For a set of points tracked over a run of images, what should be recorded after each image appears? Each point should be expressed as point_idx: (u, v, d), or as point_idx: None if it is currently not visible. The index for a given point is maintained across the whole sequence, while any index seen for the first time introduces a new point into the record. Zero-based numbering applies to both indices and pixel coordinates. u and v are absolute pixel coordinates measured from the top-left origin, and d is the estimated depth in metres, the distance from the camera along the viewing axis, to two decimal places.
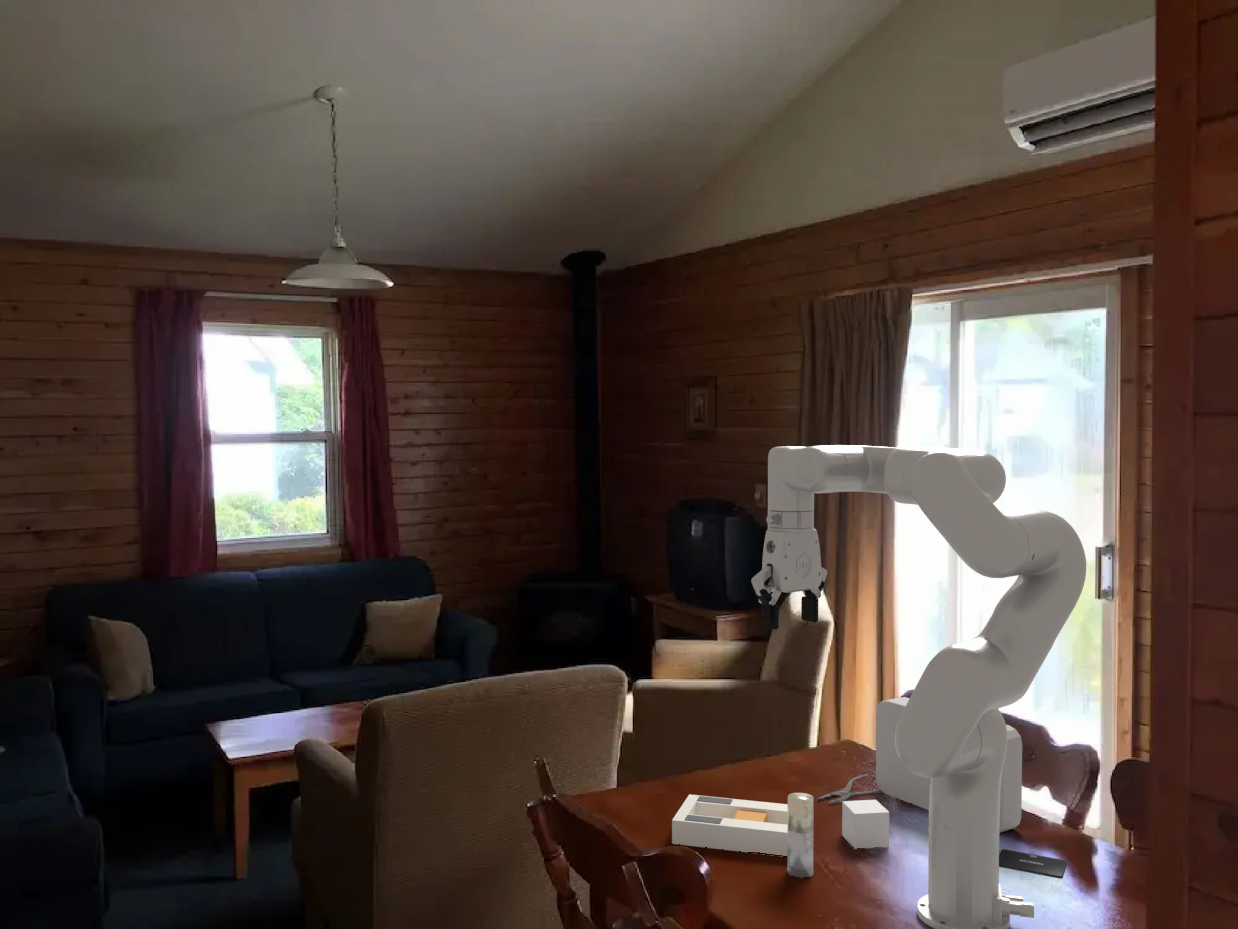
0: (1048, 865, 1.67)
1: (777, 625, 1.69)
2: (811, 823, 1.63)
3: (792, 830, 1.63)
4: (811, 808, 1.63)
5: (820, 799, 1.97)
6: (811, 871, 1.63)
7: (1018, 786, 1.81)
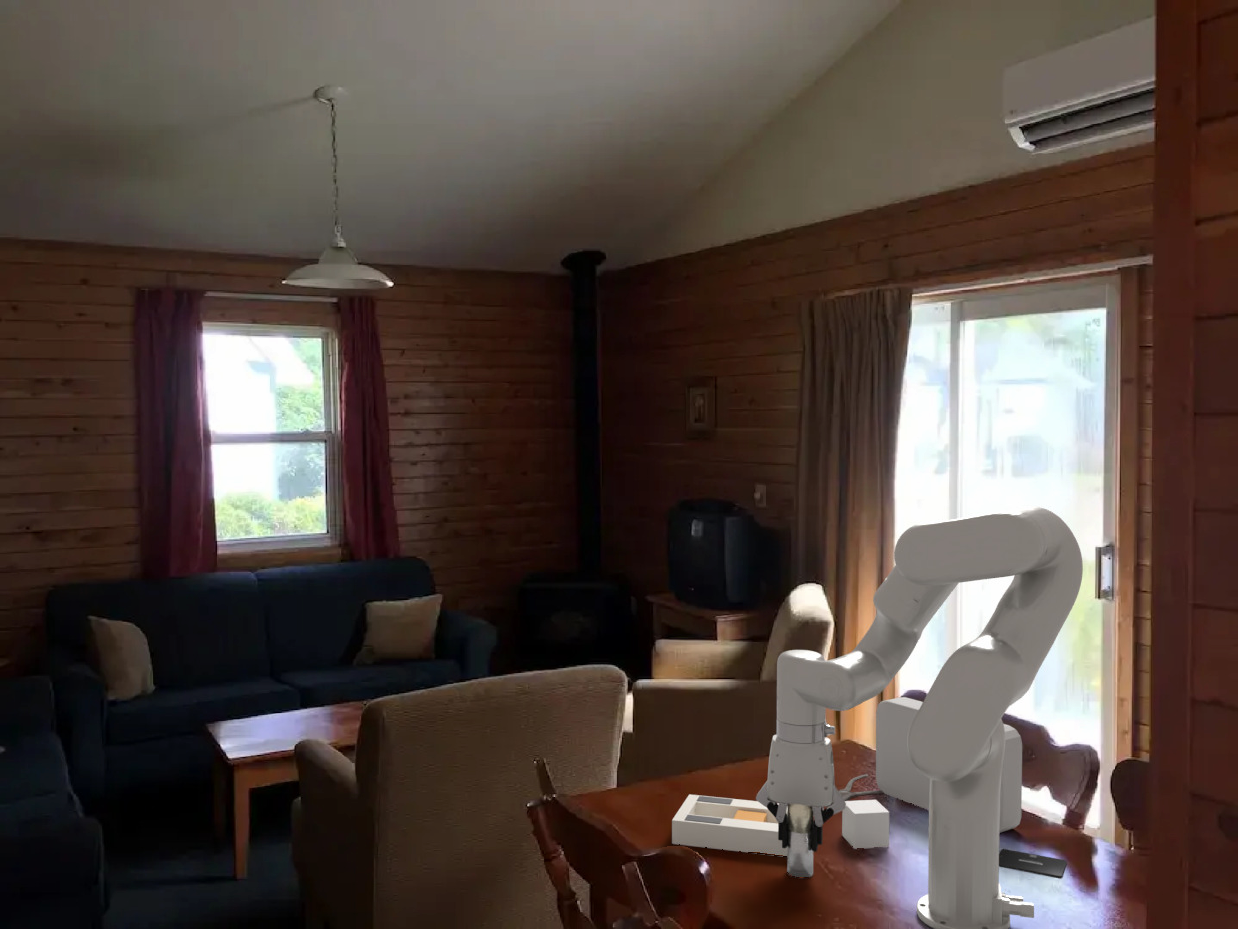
0: (1048, 865, 1.67)
1: None
2: (811, 823, 1.63)
3: (792, 830, 1.63)
4: (811, 808, 1.63)
5: None
6: (811, 871, 1.63)
7: (1018, 786, 1.81)
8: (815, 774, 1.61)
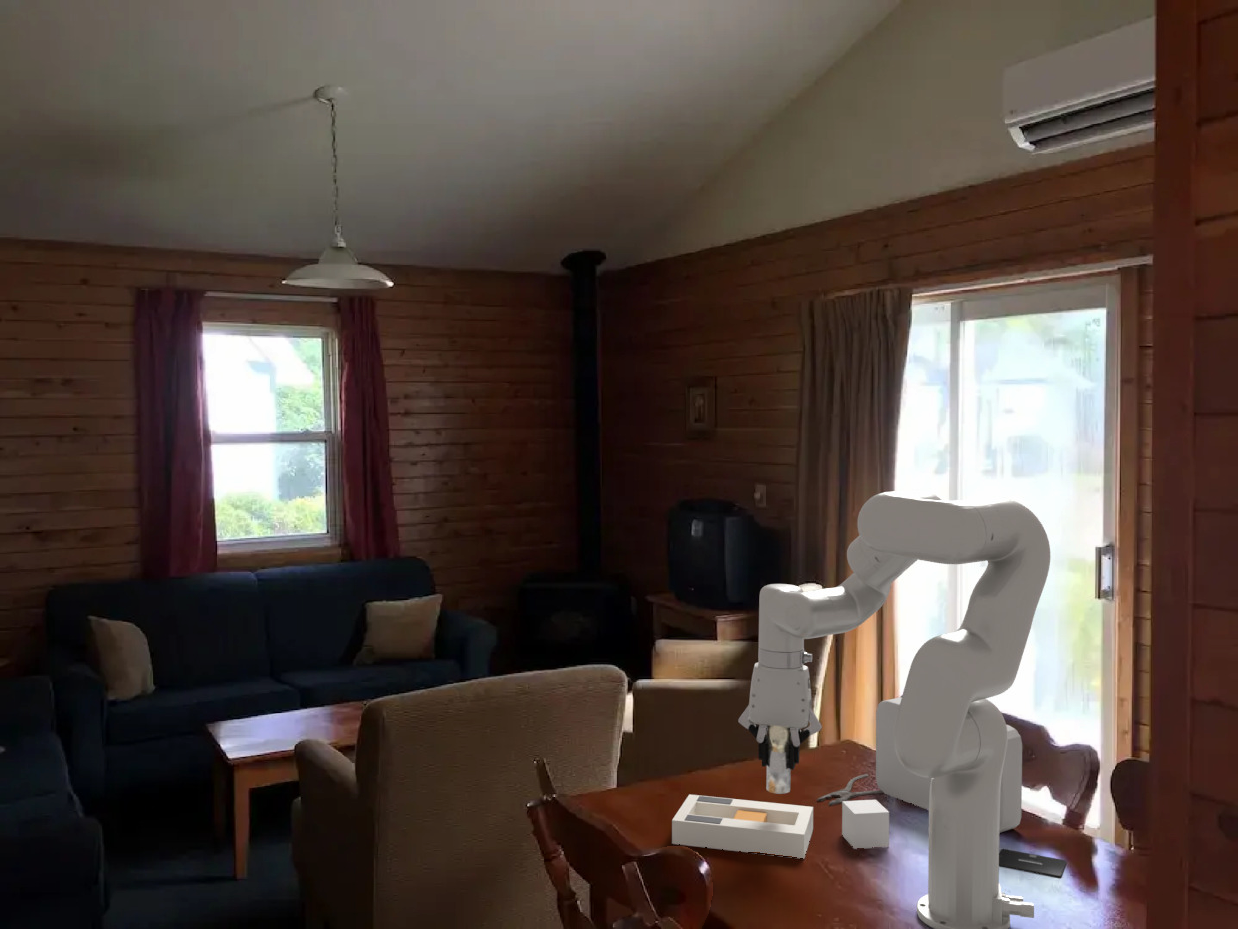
0: (1047, 865, 1.67)
1: None
2: (789, 743, 1.76)
3: (771, 749, 1.76)
4: (789, 729, 1.76)
5: (820, 799, 1.96)
6: (788, 787, 1.76)
7: (1018, 786, 1.81)
8: (793, 697, 1.74)
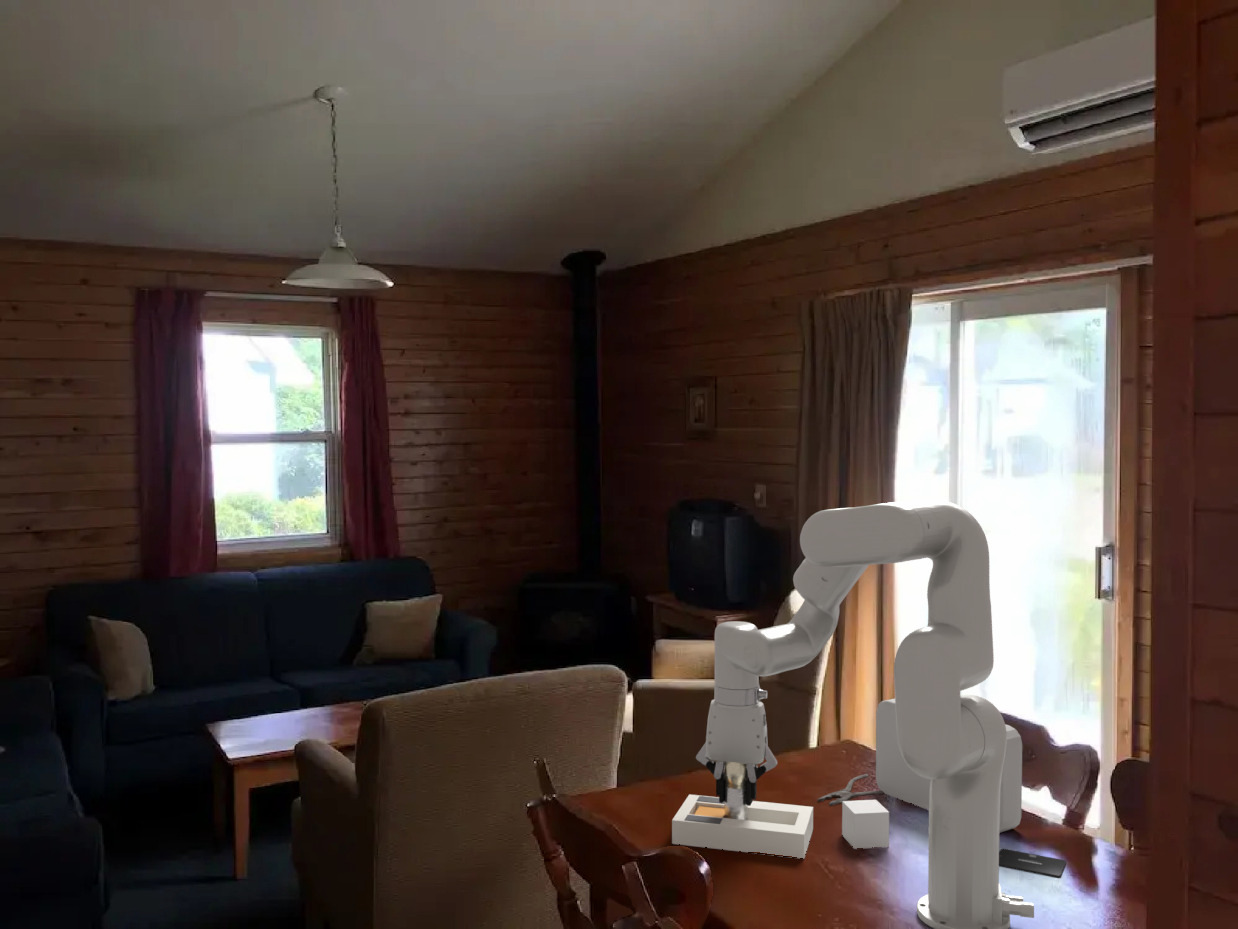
0: (1047, 865, 1.67)
1: None
2: (745, 779, 1.78)
3: (728, 786, 1.78)
4: (745, 766, 1.78)
5: (821, 799, 1.96)
6: None
7: (1018, 786, 1.81)
8: (748, 734, 1.76)
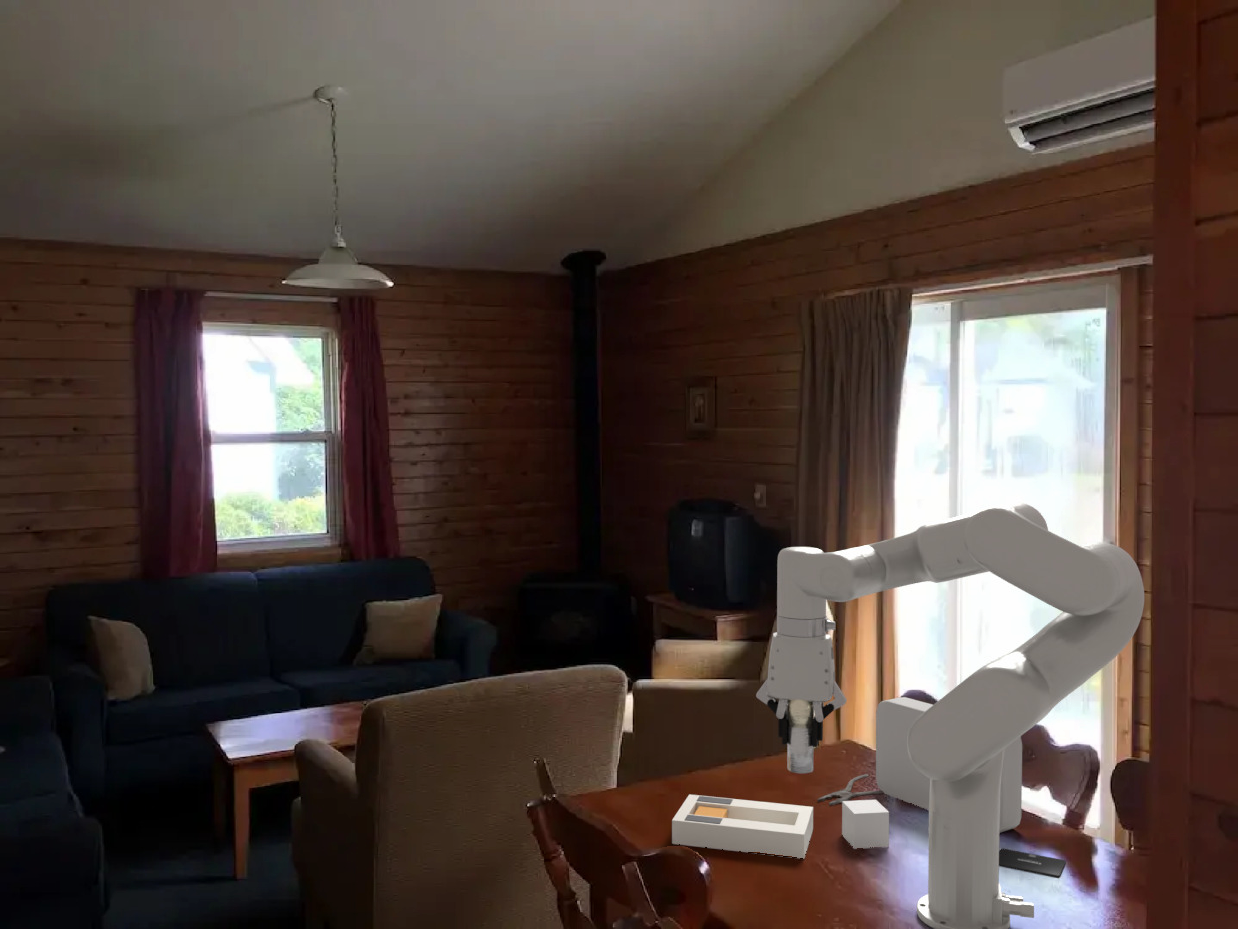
0: (1046, 864, 1.67)
1: None
2: (811, 718, 1.63)
3: (792, 725, 1.63)
4: (811, 703, 1.62)
5: (821, 799, 1.96)
6: (811, 767, 1.63)
7: (1018, 786, 1.81)
8: (815, 668, 1.61)
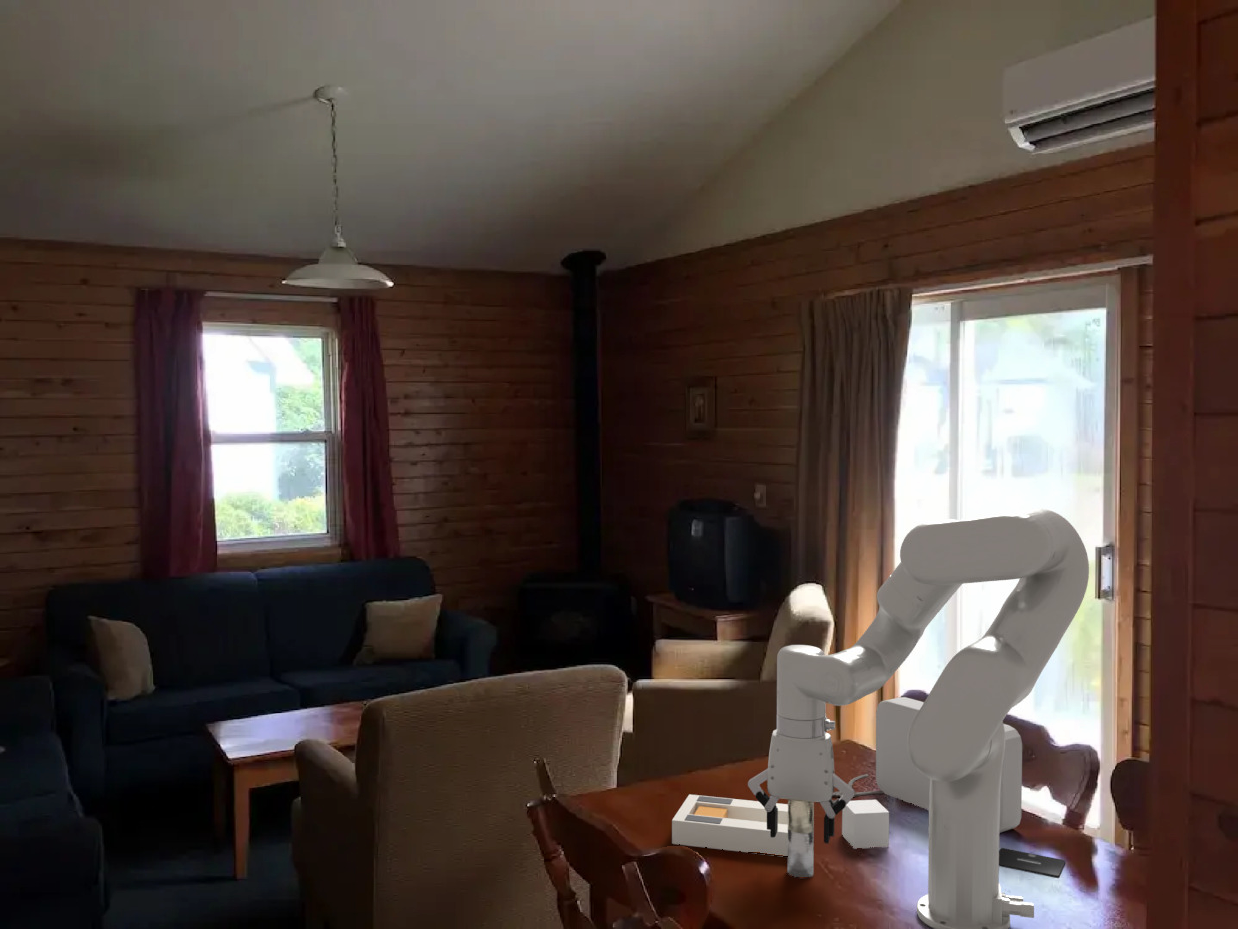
0: (1046, 864, 1.67)
1: None
2: (811, 823, 1.63)
3: (792, 830, 1.63)
4: (811, 808, 1.63)
5: None
6: (811, 871, 1.63)
7: (1018, 786, 1.81)
8: (815, 769, 1.61)
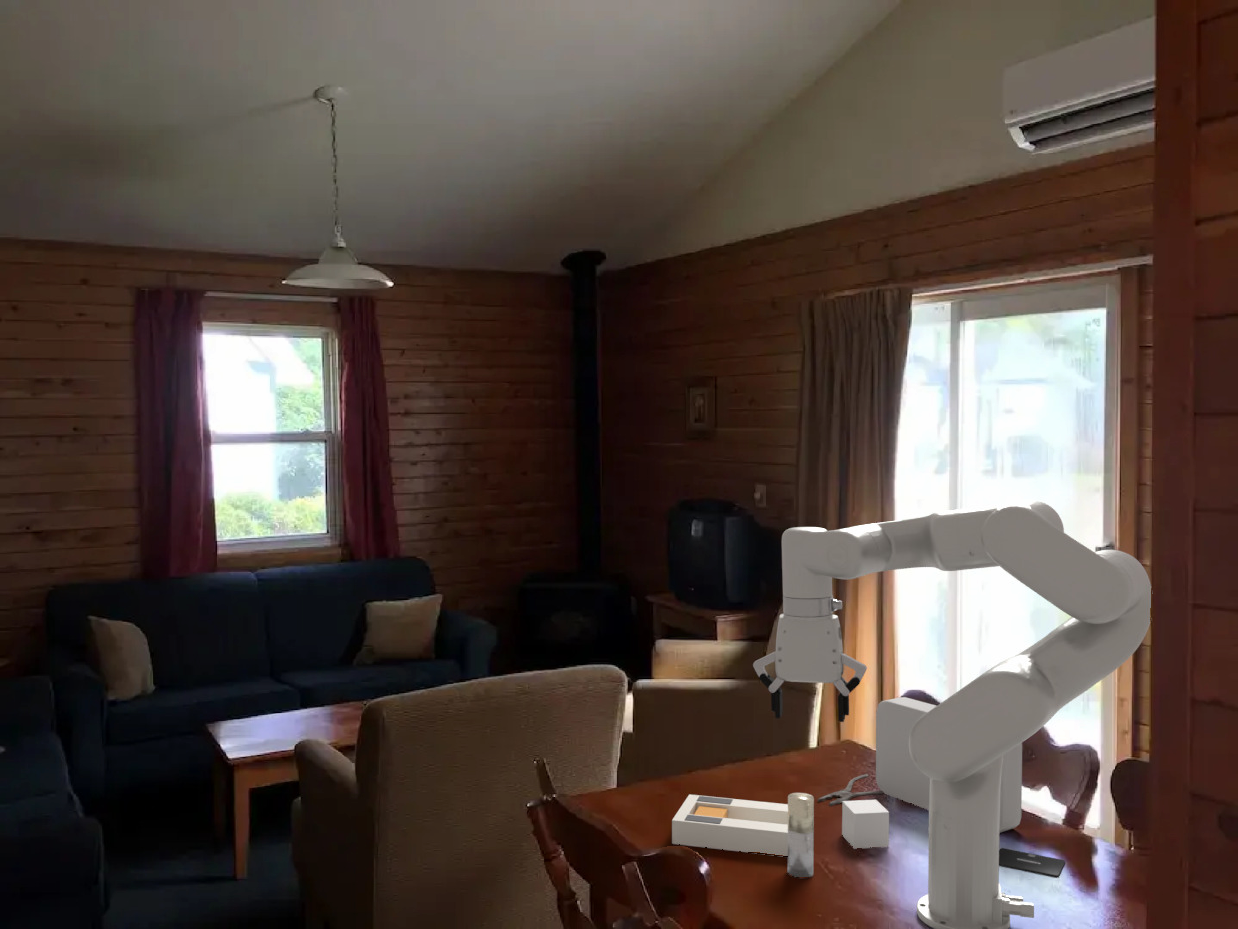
0: (1045, 864, 1.67)
1: None
2: (811, 823, 1.63)
3: (792, 830, 1.63)
4: (811, 808, 1.63)
5: (821, 799, 1.96)
6: (811, 871, 1.63)
7: (1018, 786, 1.81)
8: (823, 649, 1.59)
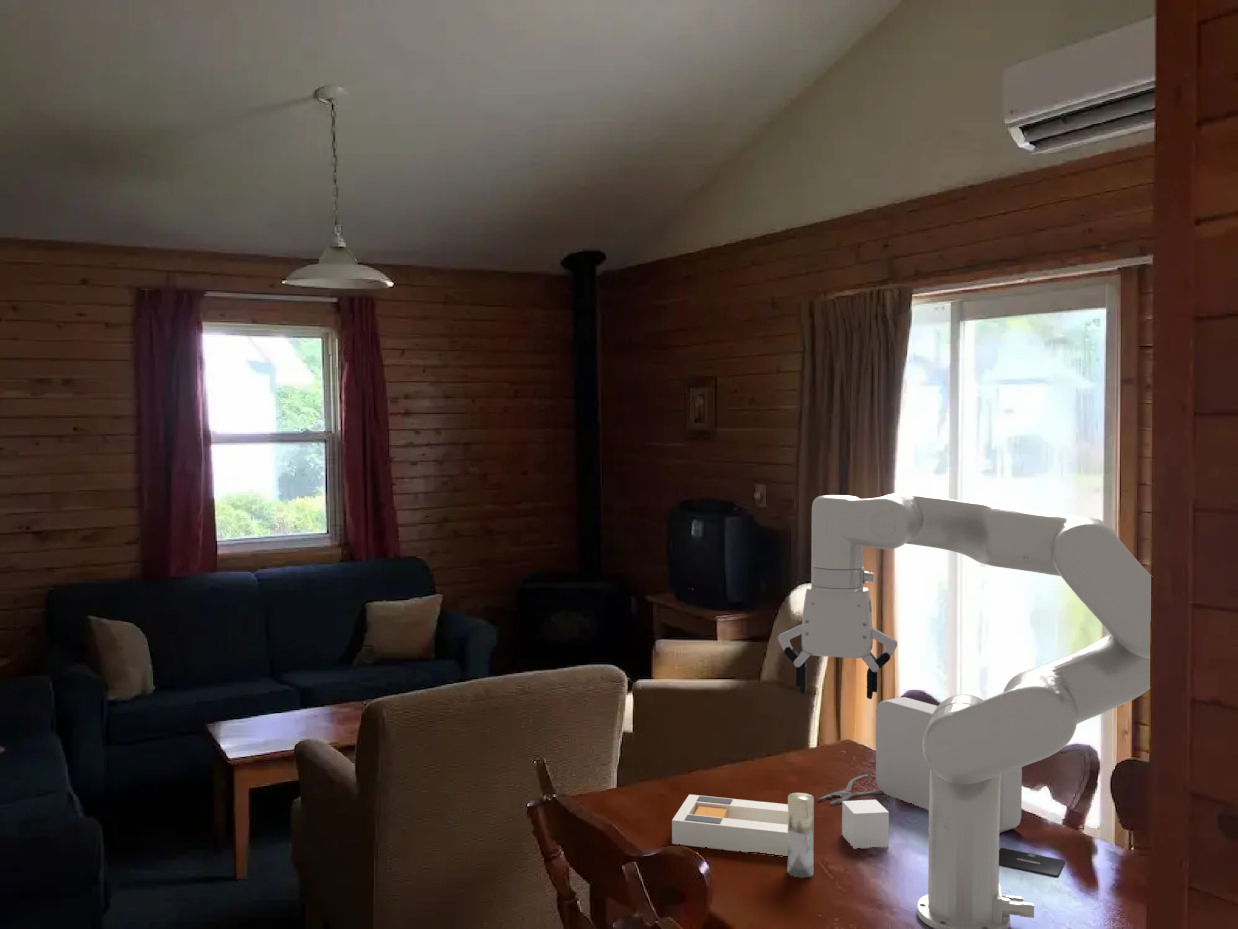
0: (1045, 864, 1.67)
1: None
2: (811, 823, 1.63)
3: (792, 830, 1.63)
4: (811, 808, 1.63)
5: (821, 799, 1.96)
6: (811, 871, 1.63)
7: (1018, 786, 1.81)
8: (853, 622, 1.52)
